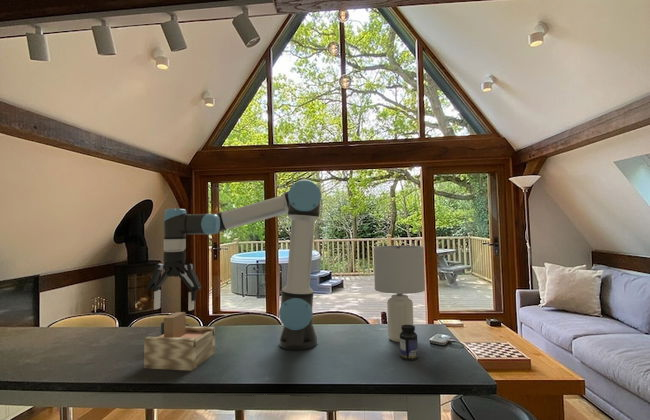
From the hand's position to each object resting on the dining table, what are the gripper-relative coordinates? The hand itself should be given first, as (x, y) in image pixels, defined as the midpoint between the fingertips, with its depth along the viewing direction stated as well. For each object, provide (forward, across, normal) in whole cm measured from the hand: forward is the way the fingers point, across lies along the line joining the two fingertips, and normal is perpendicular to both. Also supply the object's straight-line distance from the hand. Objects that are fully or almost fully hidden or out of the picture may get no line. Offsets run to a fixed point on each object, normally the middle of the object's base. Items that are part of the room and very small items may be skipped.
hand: (174, 309), depth 130 cm
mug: (+18, +8, -14) cm, 25 cm away
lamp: (+17, -82, -32) cm, 90 cm away
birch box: (+18, -3, 0) cm, 18 cm away
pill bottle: (+17, -84, -12) cm, 87 cm away
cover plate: (+11, -2, 0) cm, 11 cm away
